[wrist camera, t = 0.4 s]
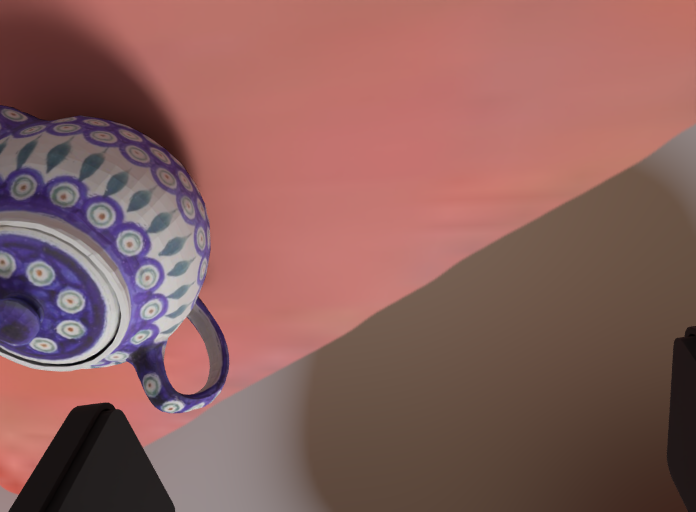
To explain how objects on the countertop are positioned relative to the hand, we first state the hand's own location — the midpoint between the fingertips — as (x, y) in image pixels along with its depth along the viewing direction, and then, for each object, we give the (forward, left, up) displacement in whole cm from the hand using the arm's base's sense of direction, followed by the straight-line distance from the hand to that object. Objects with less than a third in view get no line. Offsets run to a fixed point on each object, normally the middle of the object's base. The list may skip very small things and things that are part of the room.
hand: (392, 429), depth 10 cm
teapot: (+19, -10, -30) cm, 37 cm away
